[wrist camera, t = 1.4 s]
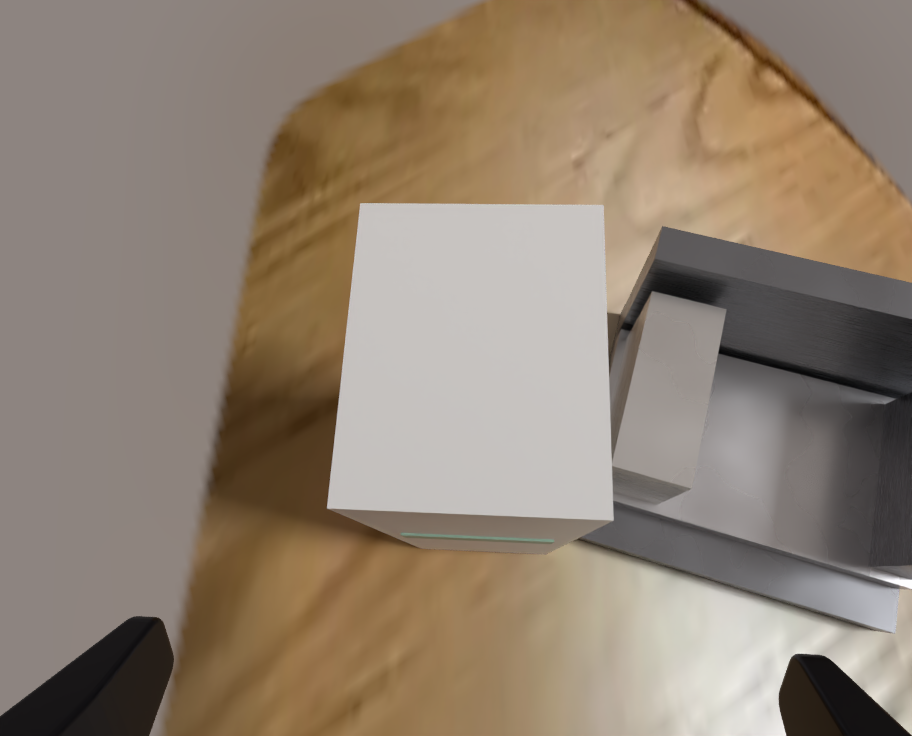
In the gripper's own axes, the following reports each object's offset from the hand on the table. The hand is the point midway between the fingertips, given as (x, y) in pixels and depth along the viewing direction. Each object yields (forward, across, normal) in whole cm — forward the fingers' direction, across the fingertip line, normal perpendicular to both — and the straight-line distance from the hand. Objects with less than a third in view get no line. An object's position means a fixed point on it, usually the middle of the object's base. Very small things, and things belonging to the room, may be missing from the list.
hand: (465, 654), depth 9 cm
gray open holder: (+11, -8, +4) cm, 15 cm away
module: (+11, 0, +5) cm, 12 cm away
